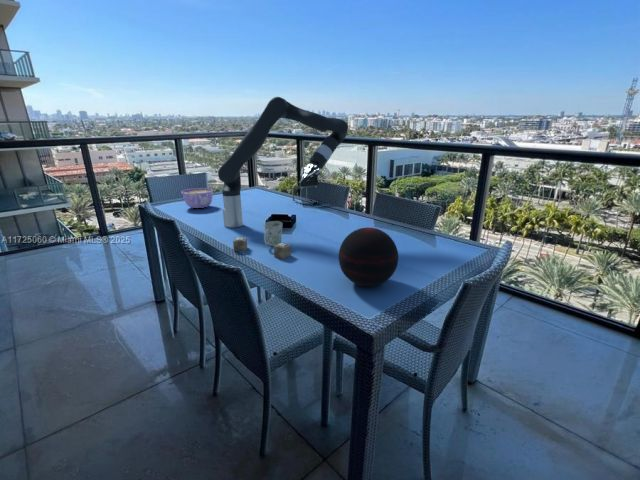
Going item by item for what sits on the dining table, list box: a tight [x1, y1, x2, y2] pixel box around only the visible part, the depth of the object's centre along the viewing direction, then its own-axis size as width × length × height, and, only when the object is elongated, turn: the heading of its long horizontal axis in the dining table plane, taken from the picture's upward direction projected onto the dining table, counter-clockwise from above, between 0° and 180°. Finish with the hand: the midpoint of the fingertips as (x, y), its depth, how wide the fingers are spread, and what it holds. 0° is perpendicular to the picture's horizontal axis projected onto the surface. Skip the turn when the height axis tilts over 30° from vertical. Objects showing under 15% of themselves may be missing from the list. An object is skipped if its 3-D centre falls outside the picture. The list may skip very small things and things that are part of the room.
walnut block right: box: [273, 242, 292, 260], centre depth 137 cm, size 5×5×5 cm
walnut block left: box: [232, 236, 248, 253], centre depth 145 cm, size 5×5×5 cm
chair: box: [291, 175, 319, 206], centre depth 229 cm, size 13×17×22 cm
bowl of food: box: [181, 187, 214, 209], centre depth 217 cm, size 20×20×12 cm
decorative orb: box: [338, 227, 399, 288], centre depth 111 cm, size 20×20×20 cm
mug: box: [263, 220, 284, 247], centre depth 148 cm, size 8×13×10 cm, turn 160°
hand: (300, 185), depth 151 cm, fingers closed
